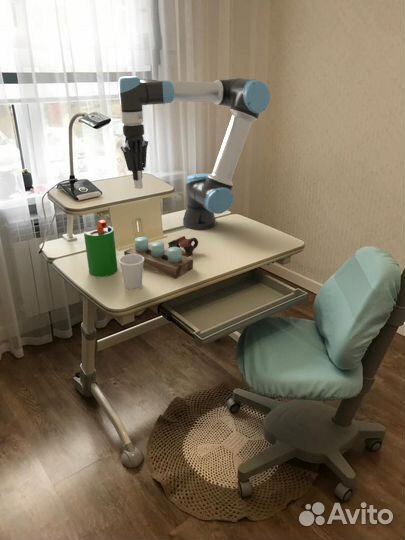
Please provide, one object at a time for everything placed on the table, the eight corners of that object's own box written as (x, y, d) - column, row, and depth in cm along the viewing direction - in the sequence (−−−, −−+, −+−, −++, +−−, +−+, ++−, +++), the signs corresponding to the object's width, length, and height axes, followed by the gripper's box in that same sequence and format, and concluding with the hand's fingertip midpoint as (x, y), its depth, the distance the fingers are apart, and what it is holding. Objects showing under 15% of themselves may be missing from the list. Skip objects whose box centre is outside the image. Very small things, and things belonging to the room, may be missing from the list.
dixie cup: (128, 294, 143) (126, 266, 138) (116, 284, 149) (114, 257, 144) (150, 287, 147) (148, 260, 142) (138, 277, 153) (136, 251, 148)
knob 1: (142, 254, 170) (140, 235, 166) (151, 258, 167) (150, 238, 163) (133, 259, 166) (131, 240, 162) (142, 262, 163) (141, 243, 160)
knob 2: (157, 260, 165) (156, 240, 162) (167, 263, 163) (167, 243, 159) (148, 264, 162) (147, 245, 158) (158, 268, 159) (158, 248, 156)
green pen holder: (107, 262, 163) (102, 212, 154) (123, 269, 158) (119, 218, 149) (85, 272, 156) (78, 220, 147) (101, 279, 151) (95, 226, 142)
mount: (142, 252, 172) (142, 242, 171) (192, 268, 159) (192, 258, 158) (124, 260, 165) (124, 251, 163) (175, 278, 152) (175, 268, 150)
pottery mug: (177, 262, 165) (168, 242, 164) (171, 263, 174) (163, 244, 173) (204, 250, 168) (196, 230, 168) (198, 251, 177) (190, 232, 177)
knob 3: (173, 265, 161) (173, 245, 158) (184, 269, 159) (184, 249, 155) (165, 270, 158) (164, 250, 154) (175, 274, 155) (175, 253, 151)
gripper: (128, 127, 149) (134, 193, 159) (152, 121, 158) (156, 184, 169) (112, 125, 152) (119, 190, 163) (136, 120, 162) (142, 182, 173)
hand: (138, 187), depth 166 cm, fingers closed
